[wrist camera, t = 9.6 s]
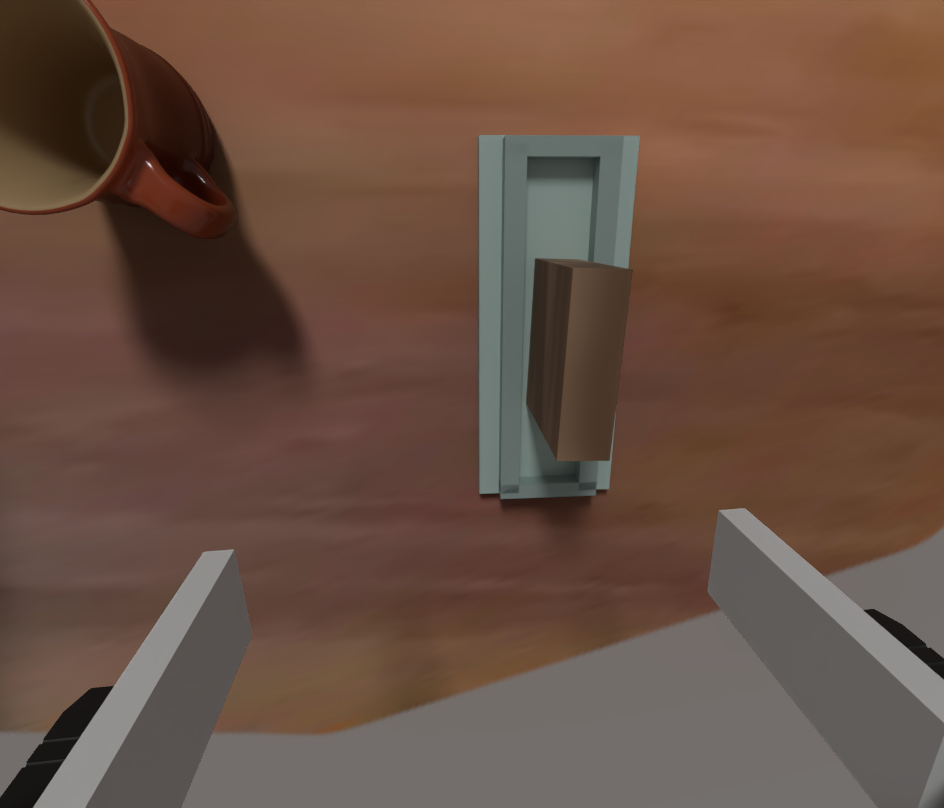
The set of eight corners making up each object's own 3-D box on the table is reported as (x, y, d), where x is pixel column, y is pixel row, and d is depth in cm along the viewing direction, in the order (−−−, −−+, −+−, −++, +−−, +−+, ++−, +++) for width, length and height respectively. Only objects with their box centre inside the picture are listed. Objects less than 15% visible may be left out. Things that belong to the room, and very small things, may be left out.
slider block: (525, 402, 33) (556, 460, 25) (535, 258, 31) (573, 268, 22) (565, 402, 34) (609, 460, 25) (578, 259, 31) (632, 269, 22)
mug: (34, 144, 28) (-182, 97, 18) (116, -2, 26) (-74, -141, 16) (231, 289, 31) (136, 316, 21) (316, 167, 29) (256, 135, 19)
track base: (478, 488, 36) (481, 502, 34) (478, 137, 29) (480, 131, 27) (605, 483, 37) (614, 497, 35) (634, 138, 30) (648, 131, 28)
